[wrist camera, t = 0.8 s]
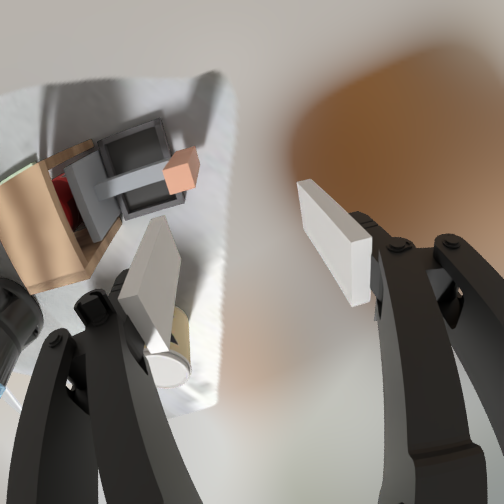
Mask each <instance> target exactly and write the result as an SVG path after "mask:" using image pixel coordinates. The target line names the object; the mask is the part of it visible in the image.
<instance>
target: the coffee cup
mask: <svg viewBox="0 0 504 504" xmlns="http://www.w3.org/2000/svg"><path fill="white" fill-rule="evenodd" d="M143 354H144V355H145V357H146V358H147V360H148V362H149V366H150V369H151V372H152V376H153V379H154V382H155V385H156V388H162V389H171V388H177V387H179V386H182V385H183V384H185V383H186V382H187V381H188V379H189V378H190V376H191V372H192V369H191V365H190V342H189V323H188V318H187V315H186V314H185V312H184V311H183V310H181V309H180V308H179V307H177V306H175V307H174V314H173V322H172V331H171V339H170V349H169V351H166V352H160V353H153V354H151V353H150V351H149V350H148V348H147V347H146V345H144V350H143Z"/></svg>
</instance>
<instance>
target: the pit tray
mask: <svg viewBox="0 0 504 504" xmlns="http://www.w3.org/2000/svg"><path fill="white" fill-rule="evenodd" d="M97 143H98V146H99V149H100V152H101V155H102V159H103V162H104V165H105V167H106V170H107V173H108V176H109V178H111V177H114V176H116V175H119V174H122V173H125V172H128V171H130V170H133V169H136V168H139V167H142V166H145V165H148V164H151V163H154V162H157V161H160V160H164V159H167V158H170V157H172V156H171V152H170V149H169V145H168V142H167V138H166V135H165V131H164V128H163V124H162V121H161V118H159V119H156V120H153V121H150V122H147V123H144V124H141V125H138V126H136V127H133V128H130V129H128V130H125V131H122V132H120V133H117V134H115V135H112V136H110V137H107V138H105V139H102V140H100V141H98V142H97ZM116 198H117V201H118V203H119V206H120V209H121V211H122V214H123V216H124V219H125V221H126V220H129V219H133V218H136V217H139V216H142V215H146V214H149V213H152V212H156V211H159V210H162V209H166V208H169V207H173V206H176V205H180V204H183V203H185V198H184V195H183V192H179V193H175V194H172V195H170V193H169V190H168V187H167V184H166V181H165V179H164V180H161V181H158V182H155V183H152V184H148V185H145V186H142V187H139V188H136V189H133V190H130V191H127V192H124V193H121V194H118V195H116Z"/></svg>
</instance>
